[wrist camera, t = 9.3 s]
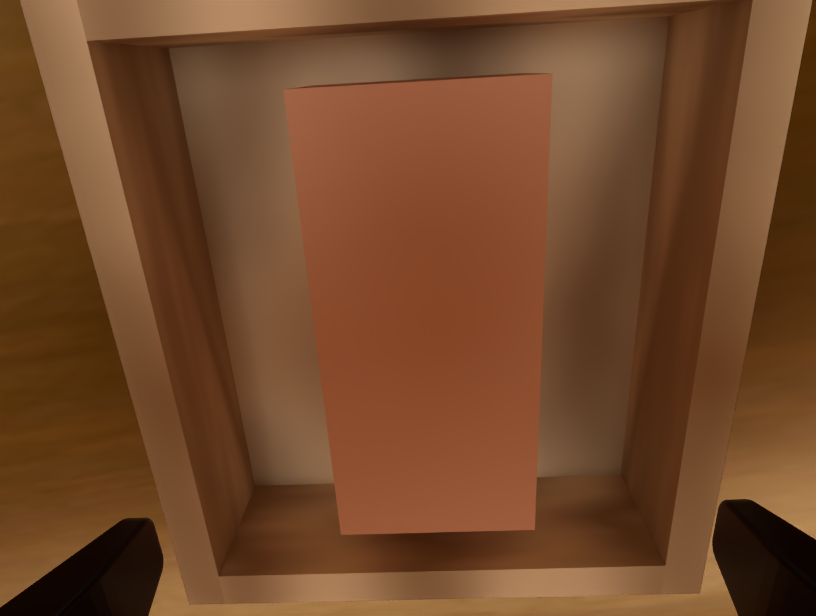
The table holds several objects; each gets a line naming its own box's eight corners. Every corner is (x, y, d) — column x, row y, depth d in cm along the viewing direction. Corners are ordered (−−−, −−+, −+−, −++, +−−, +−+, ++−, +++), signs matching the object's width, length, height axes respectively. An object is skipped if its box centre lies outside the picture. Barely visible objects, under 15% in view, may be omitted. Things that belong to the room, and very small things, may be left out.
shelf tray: (700, -30, 16) (826, -76, 11) (638, 478, 23) (700, 593, 18) (136, 7, 17) (14, -20, 12) (239, 490, 24) (189, 604, 19)
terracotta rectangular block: (522, 73, 16) (552, 73, 13) (514, 450, 21) (534, 529, 18) (314, 85, 17) (283, 89, 13) (354, 455, 22) (340, 535, 18)
